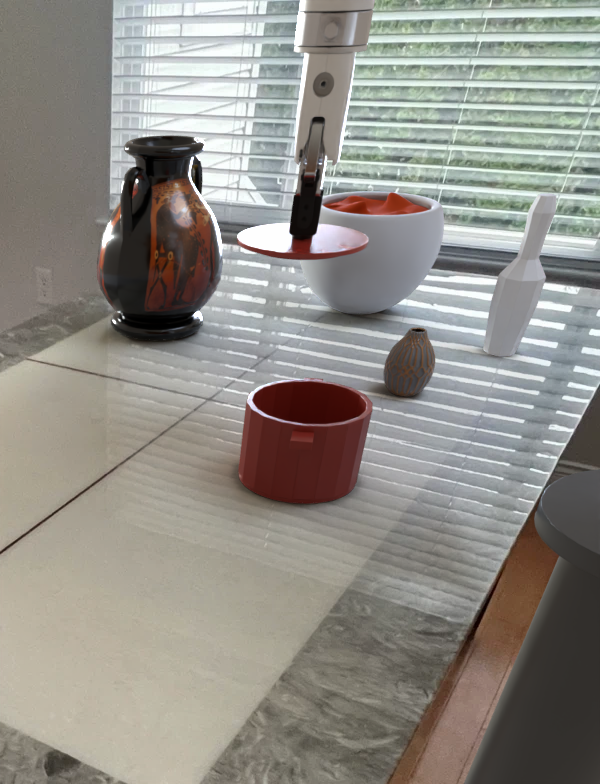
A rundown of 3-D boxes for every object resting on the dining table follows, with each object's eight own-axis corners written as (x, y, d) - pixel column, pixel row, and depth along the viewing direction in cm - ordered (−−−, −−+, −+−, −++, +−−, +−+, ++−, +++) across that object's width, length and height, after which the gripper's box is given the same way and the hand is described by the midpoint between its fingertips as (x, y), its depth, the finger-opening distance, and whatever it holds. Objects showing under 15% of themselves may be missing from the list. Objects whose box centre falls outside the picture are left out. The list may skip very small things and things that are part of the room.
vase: (383, 380, 129) (397, 320, 123) (430, 386, 126) (446, 325, 121) (375, 396, 124) (388, 334, 118) (424, 403, 122) (440, 339, 116)
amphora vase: (149, 303, 162) (156, 127, 143) (241, 325, 150) (261, 137, 132) (71, 331, 151) (68, 144, 132) (164, 357, 139) (175, 156, 121)
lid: (367, 234, 105) (379, 172, 101) (366, 267, 95) (379, 199, 90) (243, 230, 109) (250, 170, 104) (228, 261, 98) (234, 195, 94)
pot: (266, 312, 156) (280, 201, 144) (327, 282, 169) (345, 178, 157) (390, 336, 144) (416, 218, 132) (445, 302, 157) (474, 191, 145)
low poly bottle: (497, 360, 134) (547, 201, 119) (469, 348, 138) (513, 193, 124) (529, 354, 135) (581, 196, 121) (500, 342, 140) (547, 188, 125)
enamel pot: (358, 449, 111) (374, 376, 105) (352, 520, 97) (370, 441, 91) (248, 439, 114) (257, 368, 108) (227, 507, 100) (236, 429, 94)
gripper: (368, 38, 82) (332, 249, 94) (370, 28, 93) (338, 217, 105) (290, 39, 83) (264, 247, 96) (301, 29, 95) (277, 216, 107)
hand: (303, 230), depth 100 cm, fingers closed on lid, 2 cm apart
